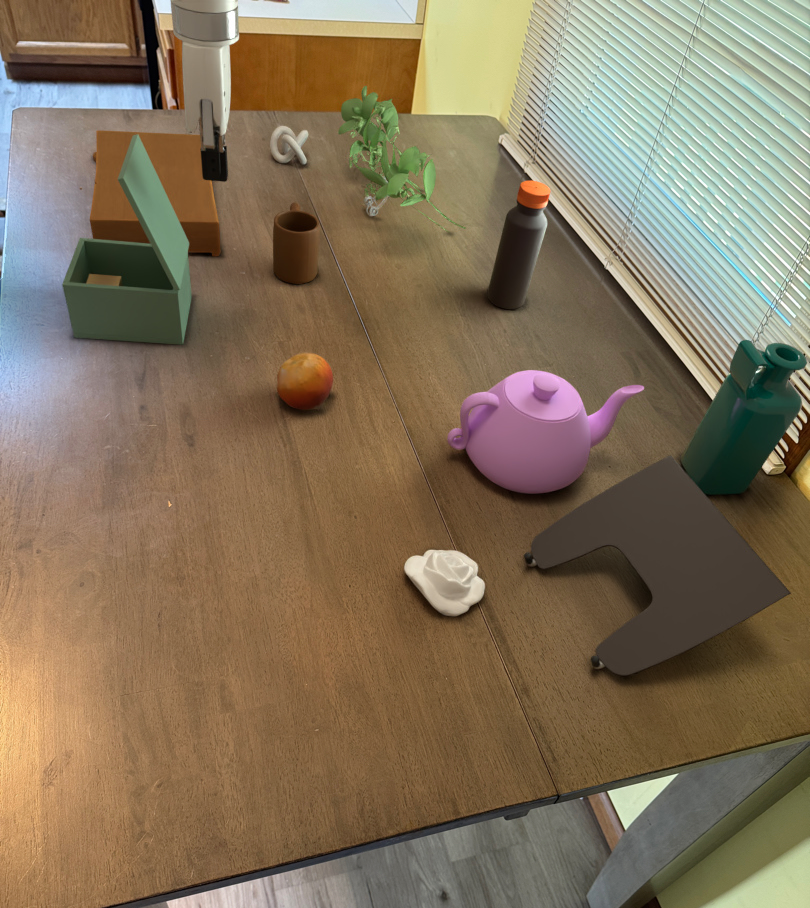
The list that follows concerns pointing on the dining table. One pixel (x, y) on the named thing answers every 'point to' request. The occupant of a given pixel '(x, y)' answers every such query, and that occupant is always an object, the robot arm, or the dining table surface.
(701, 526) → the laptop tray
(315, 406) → the fruit
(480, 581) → the rose
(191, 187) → the wooden box
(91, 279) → the block
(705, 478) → the dark green tall bottle
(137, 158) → the lid
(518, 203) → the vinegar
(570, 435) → the teapot
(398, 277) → the dining table surface
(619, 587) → the dining table surface
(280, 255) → the mug
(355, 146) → the plant cuttings
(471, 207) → the dining table surface
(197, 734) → the dining table surface
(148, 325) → the chest
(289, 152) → the knot
